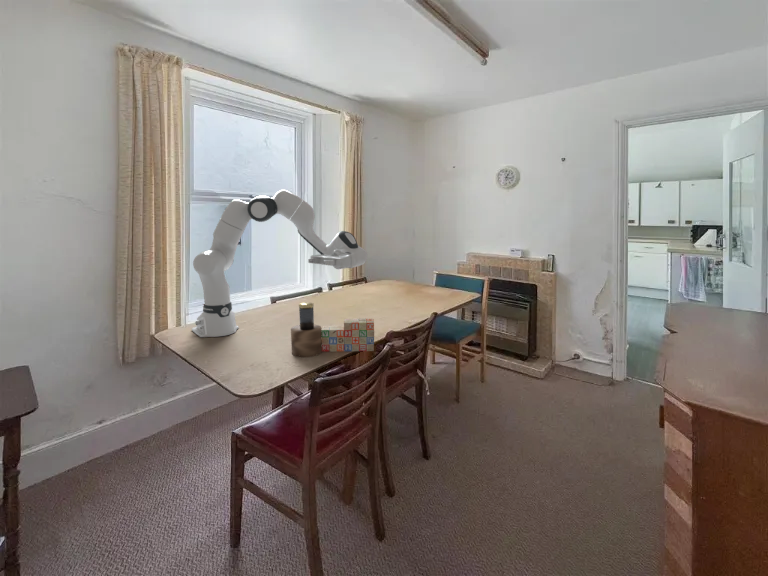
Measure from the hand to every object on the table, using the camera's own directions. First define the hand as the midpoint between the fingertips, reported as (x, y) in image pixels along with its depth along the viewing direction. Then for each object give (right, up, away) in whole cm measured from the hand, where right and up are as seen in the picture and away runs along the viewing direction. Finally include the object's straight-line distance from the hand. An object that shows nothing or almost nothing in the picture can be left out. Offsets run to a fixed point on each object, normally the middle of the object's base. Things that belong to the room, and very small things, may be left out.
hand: (316, 262), depth 163 cm
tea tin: (-2, -27, -9) cm, 29 cm away
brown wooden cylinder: (-3, -37, -7) cm, 38 cm away
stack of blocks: (+14, -37, -3) cm, 39 cm away
